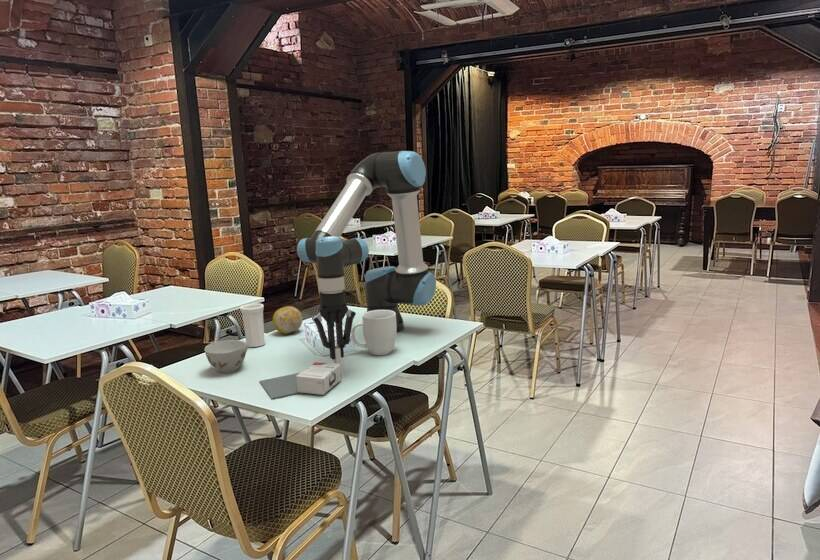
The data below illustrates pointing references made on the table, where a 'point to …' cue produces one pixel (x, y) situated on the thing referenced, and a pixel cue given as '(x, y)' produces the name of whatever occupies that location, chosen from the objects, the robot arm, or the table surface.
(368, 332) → the mug
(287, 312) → the fruit
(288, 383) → the mat
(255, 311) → the cup
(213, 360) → the teacup
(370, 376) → the table surface
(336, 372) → the ink box
